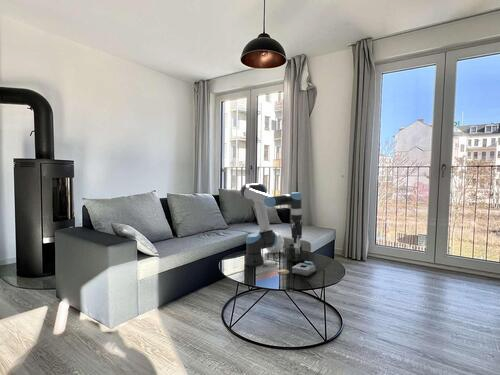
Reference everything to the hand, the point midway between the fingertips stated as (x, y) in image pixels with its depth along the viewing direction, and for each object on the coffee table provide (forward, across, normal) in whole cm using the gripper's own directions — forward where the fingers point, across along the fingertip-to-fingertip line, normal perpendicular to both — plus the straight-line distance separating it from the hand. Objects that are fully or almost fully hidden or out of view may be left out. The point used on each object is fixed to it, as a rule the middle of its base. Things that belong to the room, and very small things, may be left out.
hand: (297, 246), depth 206 cm
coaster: (+18, -6, +8) cm, 21 cm away
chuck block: (+18, +3, -4) cm, 19 cm away
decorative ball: (+19, +34, +41) cm, 57 cm away
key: (+5, 0, 0) cm, 5 cm away
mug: (+19, +23, +16) cm, 33 cm away
